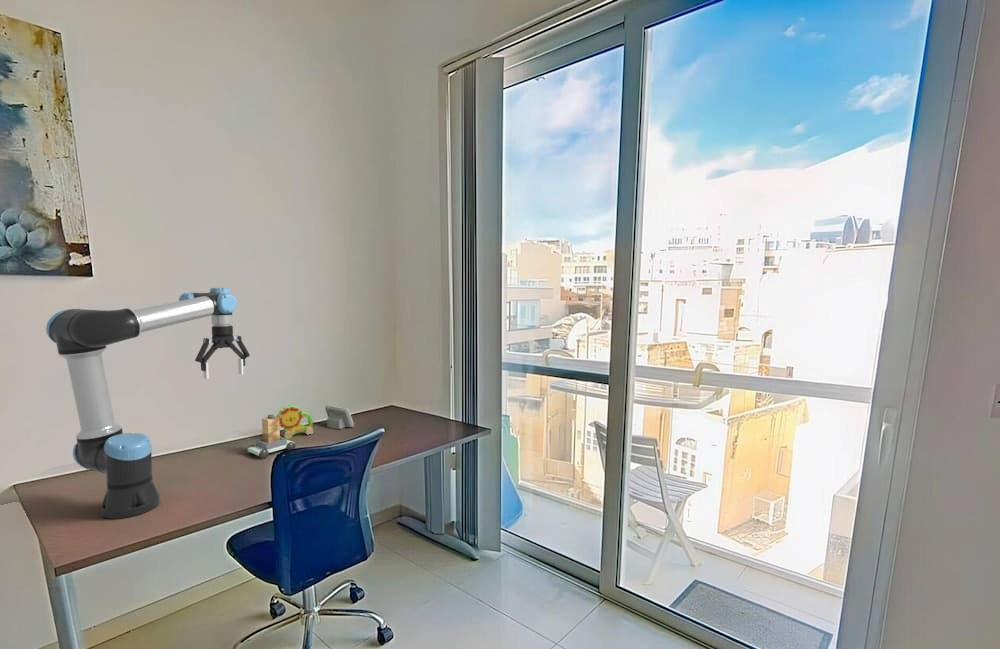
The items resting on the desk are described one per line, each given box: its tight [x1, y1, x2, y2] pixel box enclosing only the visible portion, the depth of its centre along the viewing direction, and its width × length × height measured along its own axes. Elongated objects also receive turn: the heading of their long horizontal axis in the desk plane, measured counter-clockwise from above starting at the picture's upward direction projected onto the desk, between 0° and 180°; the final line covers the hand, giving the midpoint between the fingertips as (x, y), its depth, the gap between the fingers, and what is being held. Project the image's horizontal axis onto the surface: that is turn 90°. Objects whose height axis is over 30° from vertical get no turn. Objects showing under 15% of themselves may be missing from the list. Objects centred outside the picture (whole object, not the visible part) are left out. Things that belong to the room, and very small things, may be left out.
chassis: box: [246, 436, 296, 459], centre depth 206 cm, size 16×11×6 cm
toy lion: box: [276, 405, 314, 440], centre depth 227 cm, size 16×5×15 cm, turn 128°
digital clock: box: [324, 404, 355, 430], centre depth 243 cm, size 16×9×11 cm, turn 50°
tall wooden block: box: [261, 414, 281, 443], centre depth 206 cm, size 5×5×13 cm
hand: (224, 376), depth 196 cm, fingers open, 13 cm apart
